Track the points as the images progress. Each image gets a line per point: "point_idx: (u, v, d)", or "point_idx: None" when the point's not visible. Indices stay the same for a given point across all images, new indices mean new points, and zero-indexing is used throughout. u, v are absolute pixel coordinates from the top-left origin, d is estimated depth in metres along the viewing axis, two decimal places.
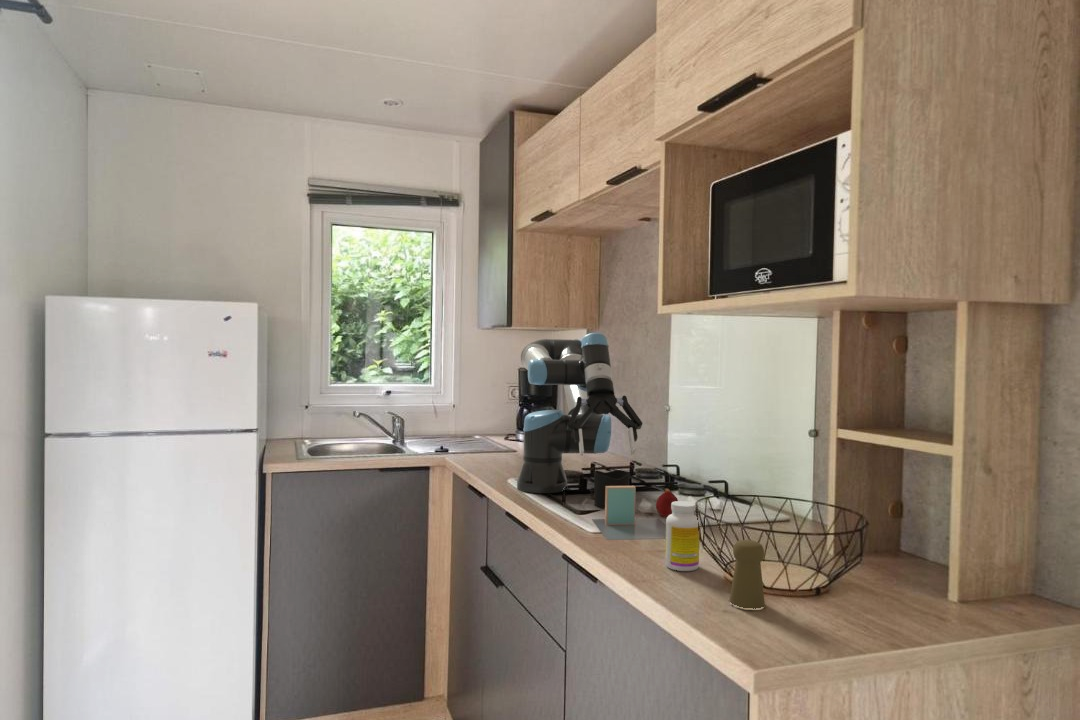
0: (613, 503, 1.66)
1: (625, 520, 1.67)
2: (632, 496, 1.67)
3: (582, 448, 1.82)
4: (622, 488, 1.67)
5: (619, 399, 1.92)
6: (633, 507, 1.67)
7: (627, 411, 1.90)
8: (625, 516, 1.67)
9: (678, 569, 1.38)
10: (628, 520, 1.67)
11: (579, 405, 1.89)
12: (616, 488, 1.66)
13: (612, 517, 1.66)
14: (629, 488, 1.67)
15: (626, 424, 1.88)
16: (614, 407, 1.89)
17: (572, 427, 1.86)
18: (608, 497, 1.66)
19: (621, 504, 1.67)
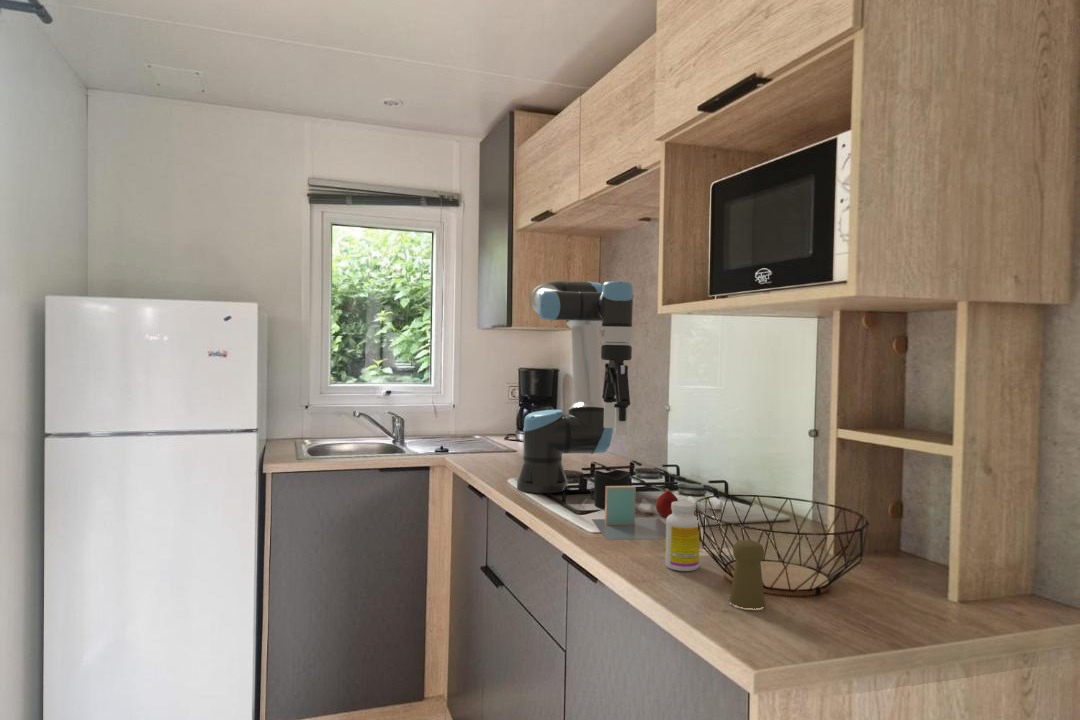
0: (613, 503, 1.66)
1: (625, 520, 1.67)
2: (632, 496, 1.67)
3: (604, 424, 1.80)
4: (622, 488, 1.67)
5: None
6: (633, 507, 1.67)
7: None
8: (625, 516, 1.67)
9: (678, 569, 1.38)
10: (628, 520, 1.67)
11: (605, 374, 1.80)
12: (616, 488, 1.66)
13: (612, 517, 1.66)
14: (629, 488, 1.67)
15: None
16: (611, 380, 1.70)
17: None
18: (608, 497, 1.66)
19: (621, 504, 1.67)
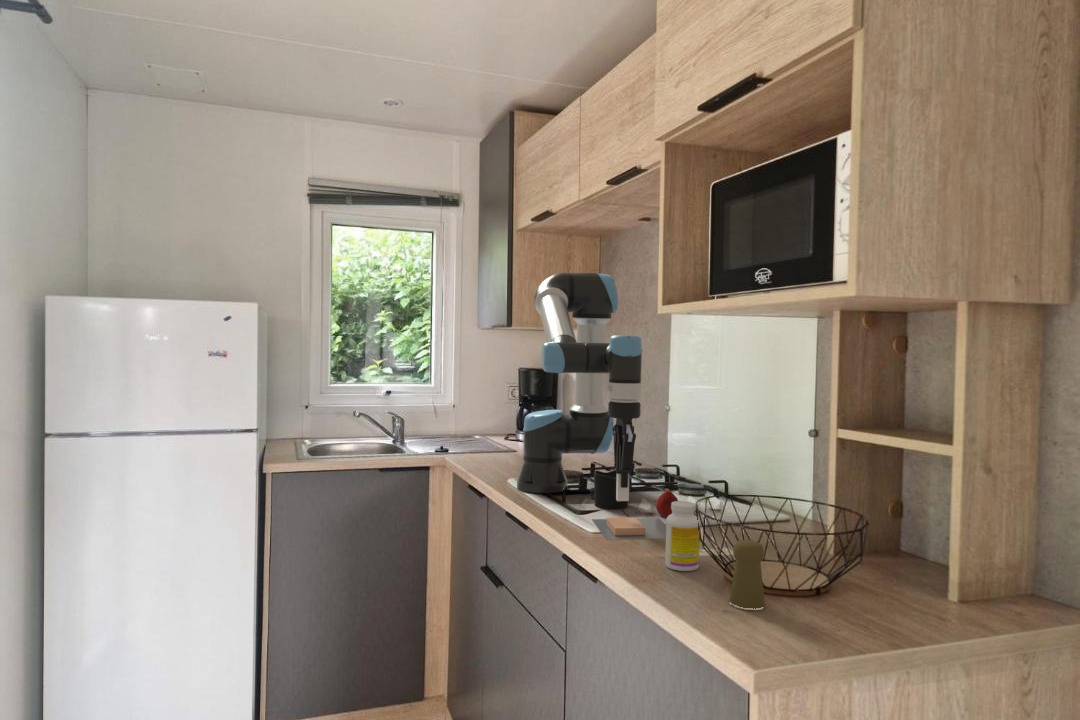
0: None
1: None
2: None
3: (616, 496, 1.65)
4: None
5: (626, 432, 1.60)
6: None
7: None
8: None
9: (678, 569, 1.38)
10: None
11: (614, 437, 1.69)
12: (624, 535, 1.58)
13: None
14: (638, 534, 1.58)
15: None
16: (617, 440, 1.64)
17: None
18: (614, 532, 1.60)
19: None
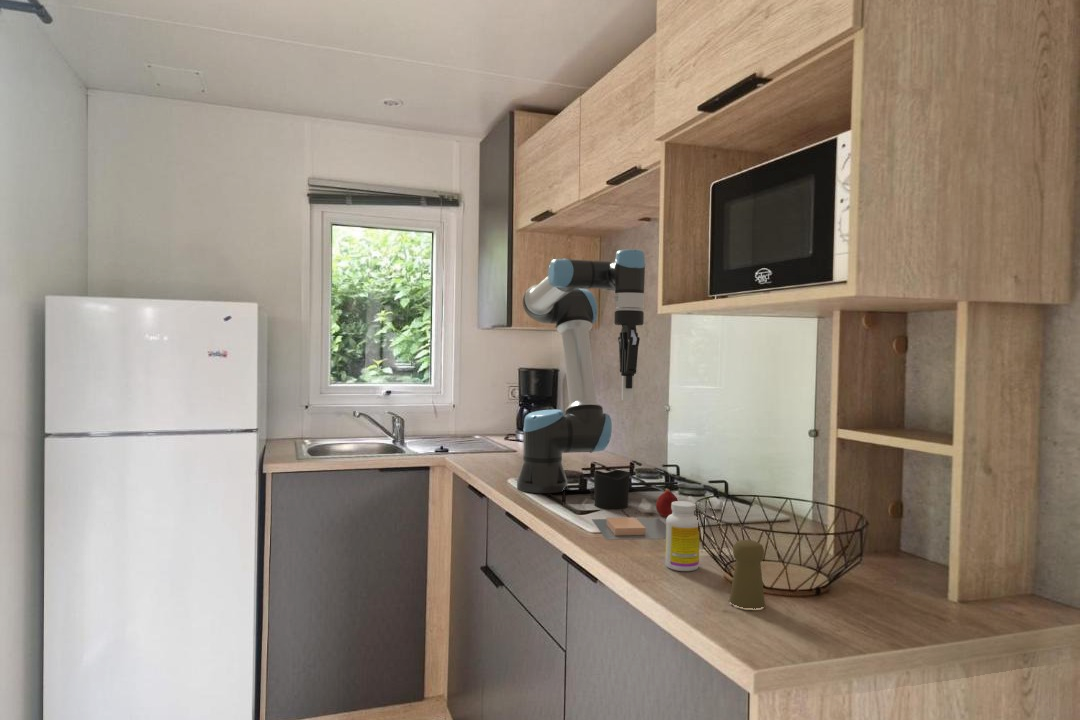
0: None
1: None
2: None
3: None
4: None
5: (631, 336, 1.77)
6: None
7: None
8: None
9: (678, 569, 1.38)
10: None
11: (619, 345, 1.86)
12: (624, 535, 1.58)
13: None
14: (638, 534, 1.58)
15: None
16: (623, 345, 1.80)
17: None
18: (614, 532, 1.60)
19: None
